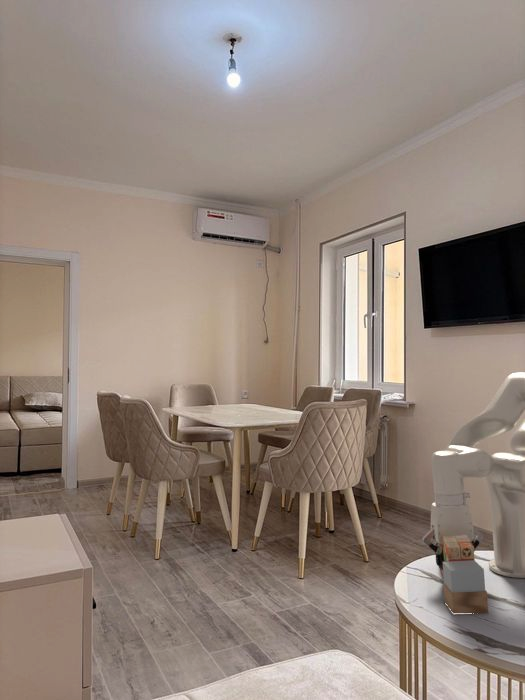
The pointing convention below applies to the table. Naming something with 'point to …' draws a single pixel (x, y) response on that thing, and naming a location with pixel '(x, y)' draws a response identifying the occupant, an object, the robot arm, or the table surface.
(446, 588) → the tower bottom
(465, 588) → the tower top
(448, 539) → the stack of blocks
